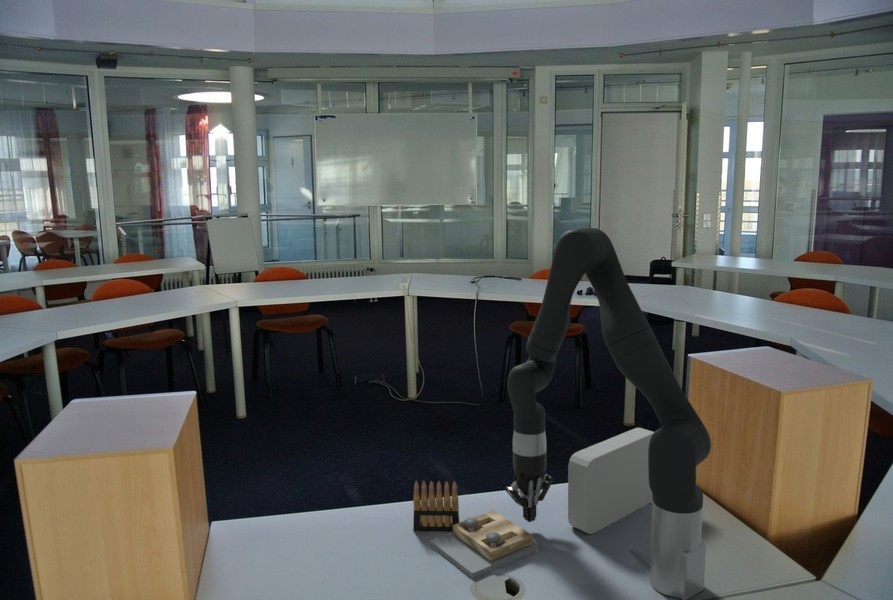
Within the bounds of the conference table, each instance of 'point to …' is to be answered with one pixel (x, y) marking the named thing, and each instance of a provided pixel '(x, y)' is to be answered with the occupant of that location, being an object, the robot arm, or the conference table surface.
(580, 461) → the rounded white slab
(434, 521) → the ammunition clip
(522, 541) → the beech panel
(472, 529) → the board
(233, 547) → the conference table surface
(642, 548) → the conference table surface
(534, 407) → the robot arm
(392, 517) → the conference table surface
